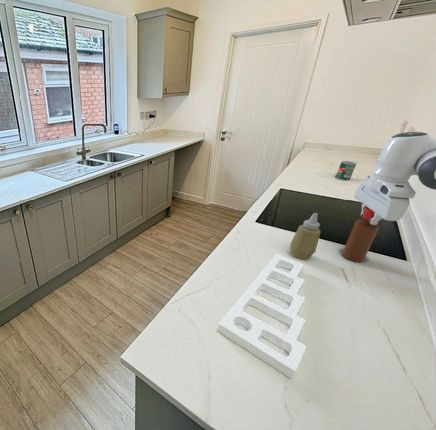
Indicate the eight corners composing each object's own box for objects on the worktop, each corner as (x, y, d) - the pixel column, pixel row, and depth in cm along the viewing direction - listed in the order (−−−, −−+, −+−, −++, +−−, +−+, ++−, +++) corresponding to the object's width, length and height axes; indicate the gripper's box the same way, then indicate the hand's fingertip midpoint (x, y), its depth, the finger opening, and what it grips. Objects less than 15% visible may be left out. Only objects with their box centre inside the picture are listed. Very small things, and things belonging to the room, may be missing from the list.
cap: (364, 219, 91) (368, 210, 89) (360, 214, 94) (364, 206, 93) (379, 221, 89) (383, 212, 88) (375, 216, 92) (379, 207, 91)
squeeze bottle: (290, 259, 98) (306, 217, 90) (284, 247, 105) (299, 207, 97) (315, 263, 96) (334, 220, 88) (308, 251, 103) (324, 210, 94)
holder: (274, 259, 98) (276, 253, 97) (333, 283, 86) (336, 276, 85) (216, 330, 70) (218, 323, 69) (292, 379, 59) (295, 371, 58)
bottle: (360, 254, 100) (381, 208, 92) (366, 263, 95) (389, 216, 87) (339, 250, 103) (358, 206, 94) (344, 259, 97) (364, 213, 89)
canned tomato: (332, 177, 180) (338, 161, 175) (340, 176, 182) (346, 160, 177) (344, 181, 173) (351, 164, 168) (352, 179, 175) (359, 163, 170)
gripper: (358, 172, 95) (343, 207, 102) (393, 193, 78) (373, 233, 84) (379, 174, 94) (362, 208, 100) (420, 195, 76) (397, 235, 83)
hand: (368, 220), depth 92 cm, fingers closed on cap, 4 cm apart
